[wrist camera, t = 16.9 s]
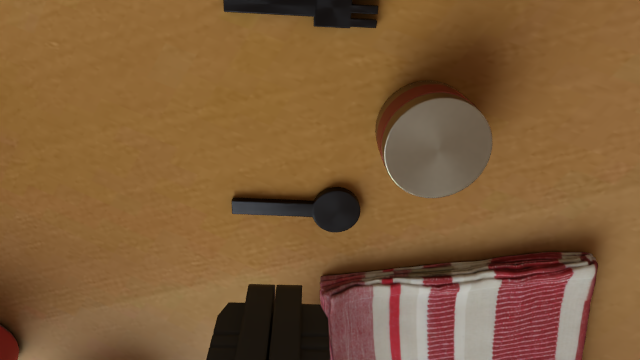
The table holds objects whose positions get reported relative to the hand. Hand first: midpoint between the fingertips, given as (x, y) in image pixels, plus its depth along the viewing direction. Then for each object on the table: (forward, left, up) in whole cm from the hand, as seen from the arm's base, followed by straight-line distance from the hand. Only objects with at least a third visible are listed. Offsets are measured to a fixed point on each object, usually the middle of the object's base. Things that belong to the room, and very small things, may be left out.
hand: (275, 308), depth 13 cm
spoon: (+7, -5, -21) cm, 23 cm away
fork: (-5, +4, -21) cm, 22 cm away
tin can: (+7, +7, -21) cm, 23 cm away
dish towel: (+26, 0, -21) cm, 34 cm away
